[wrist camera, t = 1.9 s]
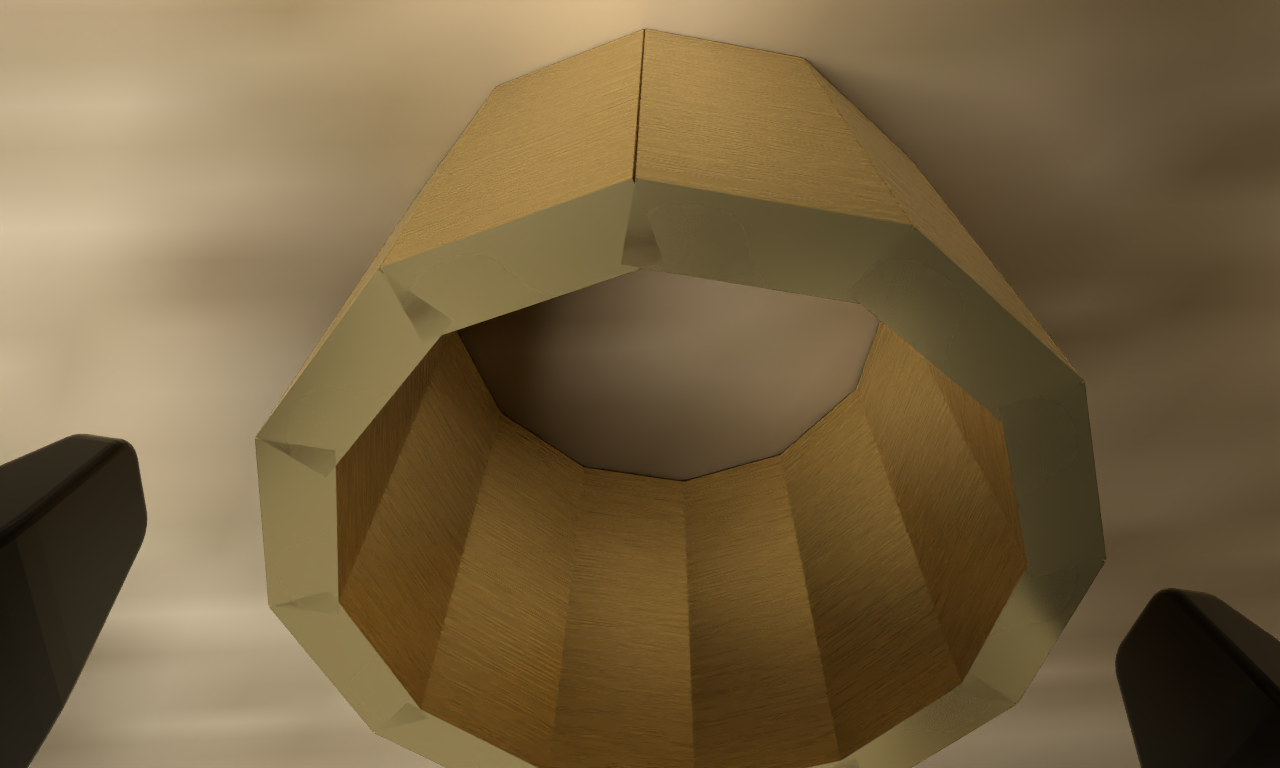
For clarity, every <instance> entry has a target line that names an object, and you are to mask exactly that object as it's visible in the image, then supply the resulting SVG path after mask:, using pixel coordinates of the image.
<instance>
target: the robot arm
mask: <svg viewBox="0 0 1280 768" xmlns="http://www.w3.org/2000/svg"><path fill="white" fill-rule="evenodd" d="M146 527H147V511H146V505H145V499H144V493H143V487H142V481H141V475H140V469H139V464H138V458H137V454H136V451H135V449H134V447H133V446H132V445H131V444H130V443H129V442H127V441H125V440H123V439H117V438H110V437H103V436H96V435H89V434H76V435H72V436H69V437H66V438H64V439H61V440H59V441H57V442H54V443H52V444H50V445H47V446H45V447H43V448H40V449H38V450H36V451H33V452H31V453H29V454H26V455H24V456H22V457H19V458H17V459H15V460H12V461H10V462H8V463H5V464H3V465H1V466H0V768H28V766H29V765H30V763H31V762H32V760H33V758H34V757H35V755H36V753H37V752H38V750H39V749H40V747H41V745H42V744H43V742H44V740H45V739H46V737H47V735H48V734H49V732H50V730H51V729H52V727H53V725H54V723H55V722H56V720H57V718H58V717H59V715H60V713H61V711H62V710H63V708H64V706H65V704H66V702H67V700H68V698H69V696H70V694H71V692H72V690H73V688H74V686H75V684H76V682H77V680H78V678H79V676H80V674H81V672H82V670H83V668H84V666H85V664H86V661H87V659H88V657H89V655H90V653H91V651H92V649H93V647H94V644H95V642H96V640H97V638H98V636H99V634H100V632H101V630H102V628H103V625H104V623H105V621H106V619H107V617H108V615H109V613H110V611H111V609H112V606H113V604H114V602H115V600H116V598H117V596H118V594H119V592H120V590H121V587H122V585H123V583H124V581H125V579H126V577H127V575H128V573H129V570H130V568H131V566H132V564H133V562H134V560H135V558H136V556H137V554H138V551H139V549H140V547H141V545H142V542H143V540H144V536H145V533H146ZM1115 666H1116V675H1117V679H1118V683H1119V687H1120V691H1121V694H1122V698H1123V702H1124V706H1125V709H1126V713H1127V717H1128V721H1129V724H1130V728H1131V732H1132V736H1133V739H1134V743H1135V747H1136V751H1137V754H1138V758H1139V762H1140V766H1141V768H1280V641H1278V640H1277V639H1276V638H1274V637H1273V636H1271V635H1270V634H1269V633H1267V632H1266V631H1264V630H1263V629H1261V628H1260V627H1259V626H1257V625H1256V624H1254V623H1253V622H1252V621H1250V620H1249V619H1247V618H1246V617H1244V616H1243V615H1242V614H1240V613H1239V612H1237V611H1236V610H1235V609H1233V608H1232V607H1230V606H1229V605H1227V604H1226V603H1225V602H1223V601H1222V600H1220V599H1219V598H1217V597H1215V596H1213V595H1211V594H1208V593H1204V592H1198V591H1191V590H1184V589H1177V588H1167V589H1163V590H1161V591H1159V592H1158V593H1156V594H1155V595H1154V596H1153V597H1152V598H1151V599H1150V601H1149V602H1148V604H1147V605H1146V607H1145V608H1144V610H1143V611H1142V613H1141V614H1140V616H1139V617H1138V619H1137V620H1136V622H1135V623H1134V625H1133V626H1132V628H1131V629H1130V631H1129V632H1128V633H1127V635H1126V636H1125V638H1124V639H1123V641H1122V642H1121V644H1120V646H1119V648H1118V651H1117V654H1116V661H1115Z"/></svg>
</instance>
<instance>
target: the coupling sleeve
mask: <svg viewBox="0 0 1280 768" xmlns="http://www.w3.org/2000/svg"><path fill="white" fill-rule="evenodd" d="M642 268H644V269H651V270H657V271H663V272H669V273H675V274H681V275H687V276H693V277H700V278H706V279H712V280H718V281H724V282H730V283H736V284H742V285H748V286H755V287H761V288H767V289H773V290H779V291H785V292H791V293H797V294H804V295H810V296H816V297H822V298H828V299H834V300H840V301H846V302H853V303H859V304H862V305H863V306H864V307H866V308H867V309H868V310H869V311H870V312H871V313H873V314H874V315H875V316H876V317H877V318H879V319H880V320H881V321H880V324H879V327H878V329H877V332H876V335H875V338H874V340H873V343H872V346H871V349H870V352H869V354H868V357H867V360H866V363H865V366H864V368H863V371H862V374H861V377H860V380H859V382H858V385H857V388H856V390H854V391H853V392H852V393H851V394H850V395H849V396H847V397H846V398H845V399H844V400H843V401H842V402H841V403H839V404H838V405H837V406H836V407H835V408H834V409H833V410H831V411H830V412H829V413H828V414H827V415H826V416H824V417H823V418H822V419H821V420H820V421H819V422H818V423H816V424H815V425H814V426H813V427H812V428H811V429H809V430H808V431H807V432H806V433H805V434H804V435H803V436H801V437H800V438H799V439H798V440H797V441H796V442H794V443H793V444H792V445H791V446H790V447H789V448H788V449H786V450H785V451H784V452H783V453H782V454H781V455H778V456H775V457H771V458H767V459H764V460H760V461H757V462H753V463H749V464H746V465H742V466H739V467H735V468H731V469H728V470H724V471H721V472H717V473H713V474H710V475H706V476H703V477H699V478H695V479H692V480H688V481H685V482H681V481H674V480H667V479H660V478H653V477H646V476H639V475H632V474H626V473H619V472H612V471H605V470H598V469H591V468H584V467H583V466H581V465H580V464H578V463H576V462H575V461H573V460H572V459H570V458H569V457H567V456H566V455H564V454H563V453H561V452H560V451H558V450H557V449H555V448H553V447H552V446H550V445H549V444H547V443H546V442H544V441H543V440H541V439H540V438H538V437H537V436H535V435H534V434H532V433H530V432H529V431H527V430H526V429H524V428H523V427H521V426H520V425H518V424H517V423H515V422H514V421H512V420H511V419H509V418H508V417H506V416H504V415H503V414H501V412H500V410H499V408H498V407H497V405H496V403H495V401H494V399H493V398H492V396H491V394H490V392H489V390H488V388H487V387H486V385H485V383H484V381H483V379H482V377H481V376H480V374H479V372H478V370H477V368H476V366H475V365H474V363H473V361H472V359H471V357H470V355H469V354H468V352H467V350H466V348H465V346H464V344H463V343H462V341H461V339H460V337H459V335H458V333H457V332H456V330H459V329H462V328H465V327H468V326H471V325H474V324H477V323H480V322H483V321H486V320H489V319H492V318H495V317H498V316H501V315H504V314H507V313H510V312H513V311H516V310H519V309H522V308H525V307H528V306H531V305H534V304H537V303H540V302H543V301H546V300H549V299H552V298H555V297H558V296H561V295H564V294H567V293H570V292H573V291H576V290H579V289H582V288H585V287H588V286H591V285H594V284H597V283H600V282H603V281H606V280H609V279H612V278H615V277H618V276H621V275H624V274H627V273H630V272H633V271H636V270H639V269H642ZM255 443H256V455H257V468H258V480H259V493H260V505H261V517H262V530H263V542H264V555H265V567H266V580H267V592H268V604H269V605H270V608H271V610H272V611H273V612H274V613H275V614H276V616H277V617H278V618H279V619H280V621H281V622H282V623H283V624H284V625H285V627H286V628H287V629H288V630H289V631H290V633H291V634H292V635H293V636H294V637H295V639H296V640H297V641H298V642H299V643H300V645H301V646H302V647H303V648H304V649H305V651H306V652H307V653H308V654H309V655H310V657H311V658H312V659H313V660H314V662H315V663H316V664H317V665H318V666H319V668H320V669H321V670H322V671H323V672H324V674H325V675H326V676H327V677H328V678H329V680H330V681H331V682H332V683H333V684H334V686H335V687H336V688H337V689H338V690H339V692H340V693H341V694H342V695H343V696H344V698H345V699H346V700H347V701H348V702H349V704H350V705H351V706H352V707H353V709H354V710H355V711H356V712H357V713H358V715H359V716H360V717H361V718H362V719H363V721H364V722H365V723H366V724H367V725H368V727H369V728H370V729H371V730H372V731H373V732H375V734H377V735H380V736H382V737H384V738H386V739H388V740H390V741H392V742H394V743H396V744H398V745H400V746H402V747H405V748H407V749H409V750H411V751H413V752H415V753H417V754H419V755H421V756H423V757H425V758H428V759H430V760H432V761H434V762H436V763H438V764H440V765H442V766H444V767H446V768H912V767H913V766H915V765H917V764H918V763H920V762H921V761H923V760H925V759H926V758H928V757H930V756H931V755H933V754H935V753H936V752H938V751H940V750H941V749H943V748H945V747H946V746H948V745H950V744H951V743H953V742H955V741H956V740H958V739H960V738H961V737H963V736H965V735H966V734H968V733H970V732H971V731H973V730H975V729H976V728H978V727H980V726H981V725H983V724H985V723H986V722H988V721H990V720H991V719H993V718H995V717H996V716H998V715H1000V714H1001V713H1003V712H1005V711H1006V710H1008V709H1010V708H1011V707H1013V706H1015V705H1016V703H1018V702H1019V701H1020V699H1021V697H1022V696H1023V694H1024V693H1025V691H1026V689H1027V688H1028V686H1029V684H1030V683H1031V681H1032V680H1033V678H1034V676H1035V675H1036V673H1037V671H1038V670H1039V668H1040V667H1041V665H1042V663H1043V662H1044V660H1045V658H1046V657H1047V655H1048V654H1049V652H1050V650H1051V649H1052V647H1053V646H1054V644H1055V642H1056V641H1057V639H1058V637H1059V636H1060V634H1061V633H1062V631H1063V629H1064V628H1065V626H1066V624H1067V623H1068V621H1069V620H1070V618H1071V616H1072V615H1073V613H1074V611H1075V610H1076V608H1077V607H1078V605H1079V603H1080V602H1081V600H1082V599H1083V597H1084V595H1085V594H1086V592H1087V590H1088V589H1089V587H1090V586H1091V584H1092V582H1093V581H1094V579H1095V577H1096V576H1097V574H1098V573H1099V571H1100V569H1101V568H1102V566H1103V564H1104V563H1105V559H1106V554H1105V546H1104V537H1103V529H1102V521H1101V513H1100V504H1099V496H1098V488H1097V480H1096V471H1095V463H1094V455H1093V446H1092V438H1091V430H1090V422H1089V413H1088V405H1087V397H1086V389H1085V382H1084V381H1083V379H1082V378H1081V376H1080V375H1079V374H1078V372H1077V371H1076V370H1075V369H1074V367H1073V366H1072V365H1071V363H1070V362H1069V361H1068V360H1067V358H1066V357H1065V356H1064V355H1063V353H1062V352H1061V351H1060V349H1059V348H1058V347H1057V346H1056V344H1055V343H1054V342H1053V340H1052V339H1051V338H1050V337H1049V335H1048V334H1047V333H1046V331H1045V330H1044V329H1043V328H1042V326H1041V325H1040V324H1039V323H1038V321H1037V320H1036V319H1035V317H1034V316H1033V315H1032V314H1031V312H1030V311H1029V310H1028V308H1027V307H1026V306H1025V305H1024V303H1023V302H1022V301H1021V300H1020V298H1019V297H1018V296H1017V294H1016V293H1015V292H1014V291H1013V289H1012V288H1011V287H1010V285H1009V284H1008V283H1007V282H1006V280H1005V279H1004V278H1003V276H1002V275H1001V274H1000V273H999V271H998V270H997V269H996V268H995V266H994V265H993V264H992V262H991V261H990V260H989V259H988V257H987V256H986V255H985V253H984V252H983V251H982V250H981V248H980V247H979V246H978V244H977V243H976V242H975V241H974V239H973V238H972V237H971V236H970V234H969V233H968V232H967V230H966V229H965V228H964V227H963V225H962V224H961V223H960V221H959V220H958V219H957V218H956V216H955V215H954V214H953V213H952V211H951V210H950V209H949V207H948V206H947V205H946V204H945V202H944V201H943V200H942V198H941V197H940V196H939V195H938V193H937V192H936V191H935V189H934V188H933V187H932V186H931V184H930V183H929V182H928V181H927V179H926V178H925V177H924V175H923V174H922V173H921V172H920V170H919V169H918V168H917V166H916V165H915V164H914V163H913V161H912V160H911V159H910V158H909V157H908V156H907V155H906V154H905V153H904V152H903V151H902V150H900V149H899V148H898V147H897V146H896V145H895V144H894V143H893V142H892V141H891V140H890V139H889V138H888V137H887V136H886V135H885V134H884V133H883V132H881V131H880V130H879V129H878V128H877V127H876V126H875V125H874V124H873V123H872V122H871V121H870V120H869V119H868V118H867V117H866V116H865V115H863V114H862V113H861V112H860V111H859V110H858V109H857V108H856V107H855V106H854V105H853V104H852V103H851V102H850V101H849V100H848V99H847V98H846V97H844V96H843V95H842V94H841V93H840V92H839V91H838V90H837V89H836V88H835V87H834V86H833V85H832V84H831V83H830V82H829V81H828V80H826V79H825V78H824V77H823V76H822V75H821V74H820V73H819V72H818V71H817V70H816V69H815V68H814V67H813V66H812V65H811V64H810V63H808V62H807V61H806V60H805V59H803V58H801V57H796V56H790V55H785V54H779V53H774V52H768V51H763V50H758V49H752V48H747V47H741V46H736V45H730V44H725V43H720V42H714V41H709V40H703V39H698V38H692V37H687V36H682V35H676V34H671V33H665V32H660V31H654V30H649V29H645V32H644V29H642V30H640V31H637V32H635V33H632V34H629V35H627V36H624V37H622V38H619V39H617V40H614V41H611V42H609V43H606V44H604V45H601V46H599V47H596V48H594V49H591V50H588V51H586V52H583V53H581V54H578V55H576V56H573V57H571V58H568V59H565V60H563V61H560V62H558V63H555V64H553V65H550V66H548V67H545V68H542V69H540V70H537V71H535V72H532V73H530V74H527V75H524V76H522V77H519V78H517V79H514V80H512V81H509V82H507V83H504V84H501V85H499V86H497V87H495V89H494V90H493V92H492V93H491V94H490V96H489V97H488V99H487V100H486V101H485V103H484V104H483V105H482V107H481V108H480V110H479V111H478V112H477V114H476V115H475V117H474V118H473V119H472V121H471V122H470V124H469V125H468V126H467V128H466V129H465V130H464V132H463V133H462V135H461V136H460V137H459V139H458V140H457V142H456V143H455V144H454V146H453V147H452V148H451V150H450V151H449V153H448V154H447V155H446V157H445V158H444V160H443V161H442V162H441V164H440V165H439V166H438V168H437V169H436V171H435V172H434V173H433V175H432V176H431V178H430V179H429V180H428V182H427V183H426V185H425V186H424V187H423V189H422V190H421V191H420V193H419V194H418V196H417V197H416V198H415V200H414V201H413V203H412V204H411V206H410V207H409V209H408V210H407V212H406V213H405V215H404V216H403V218H402V219H401V221H400V222H399V223H398V225H397V226H396V228H395V229H394V231H393V232H392V234H391V235H390V237H389V238H388V240H387V241H386V243H385V244H384V246H383V247H382V249H381V250H380V252H379V253H378V255H377V256H376V258H375V259H374V261H373V262H372V264H371V265H370V267H369V268H368V270H367V271H366V273H365V274H364V276H363V277H362V279H361V280H360V282H359V283H358V285H357V286H356V288H355V289H354V291H353V292H352V294H351V295H350V297H349V298H348V300H347V301H346V303H345V304H344V306H343V307H342V309H341V310H340V312H339V313H338V315H337V316H336V318H335V319H334V321H333V322H332V323H331V325H330V326H329V328H328V329H327V331H326V332H325V334H324V335H323V337H322V338H321V340H320V341H319V343H318V344H317V346H316V347H315V349H314V350H313V352H312V353H311V355H310V356H309V358H308V359H307V361H306V362H305V364H304V365H303V367H302V368H301V370H300V371H299V373H298V374H297V376H296V377H295V379H294V380H293V382H292V383H291V385H290V386H289V388H288V389H287V391H286V392H285V394H284V395H283V397H282V398H281V400H280V401H279V403H278V404H277V406H276V407H275V409H274V410H273V412H272V413H271V415H270V416H269V418H268V419H267V421H266V422H265V423H264V425H263V426H262V428H261V429H260V431H259V432H258V434H257V435H256V438H255Z"/></svg>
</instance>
